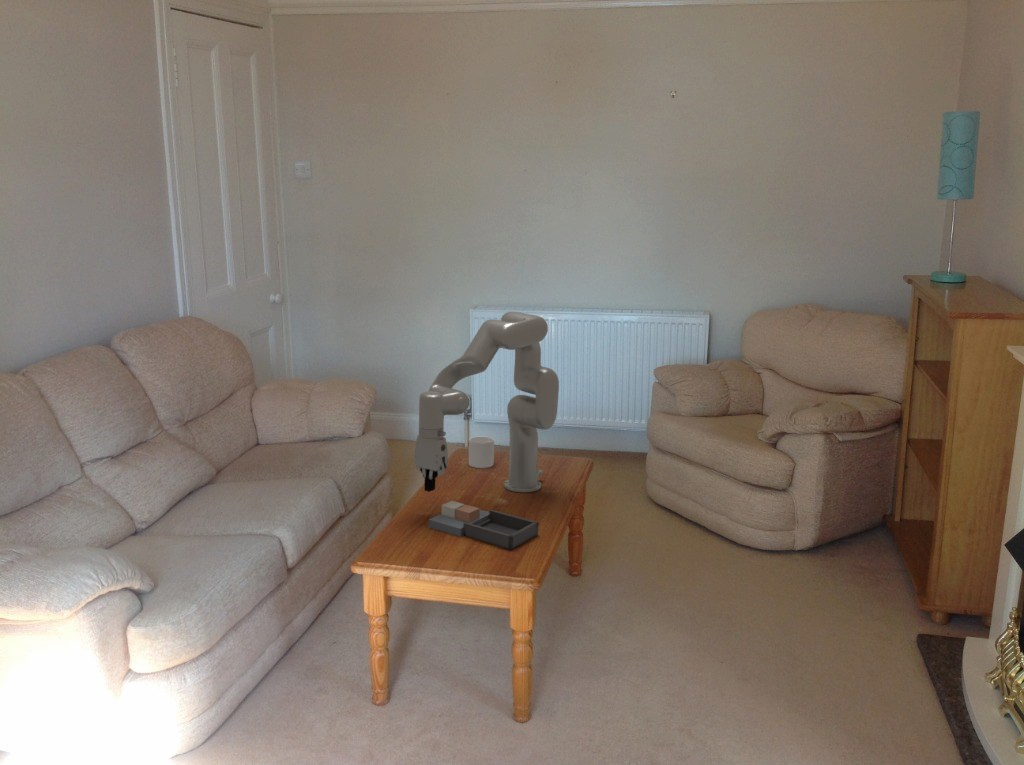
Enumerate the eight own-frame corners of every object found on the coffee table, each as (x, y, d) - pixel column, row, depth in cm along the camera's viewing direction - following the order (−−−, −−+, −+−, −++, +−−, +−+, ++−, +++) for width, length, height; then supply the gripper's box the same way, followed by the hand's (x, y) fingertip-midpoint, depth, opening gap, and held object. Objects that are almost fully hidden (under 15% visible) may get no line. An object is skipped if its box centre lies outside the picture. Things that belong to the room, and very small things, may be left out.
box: (491, 521, 294) (491, 509, 293) (537, 535, 285) (538, 522, 284) (463, 535, 283) (463, 523, 282) (510, 550, 273) (511, 536, 273)
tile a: (451, 509, 296) (451, 500, 296) (464, 513, 294) (464, 504, 293) (441, 514, 292) (441, 505, 292) (454, 518, 290) (454, 508, 289)
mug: (492, 469, 344) (492, 444, 341) (466, 467, 344) (467, 442, 342) (495, 458, 355) (496, 434, 353) (471, 457, 356) (471, 433, 354)
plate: (461, 512, 302) (461, 504, 301) (492, 520, 295) (492, 513, 294) (428, 527, 289) (428, 519, 288) (460, 536, 282) (460, 528, 282)
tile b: (466, 513, 293) (466, 504, 293) (479, 517, 291) (479, 508, 290) (456, 518, 289) (456, 509, 289) (469, 522, 286) (469, 513, 286)
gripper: (458, 434, 291) (456, 492, 295) (420, 425, 299) (418, 482, 303) (442, 439, 285) (441, 498, 289) (404, 430, 293) (403, 488, 297)
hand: (429, 490), depth 296 cm, fingers closed
